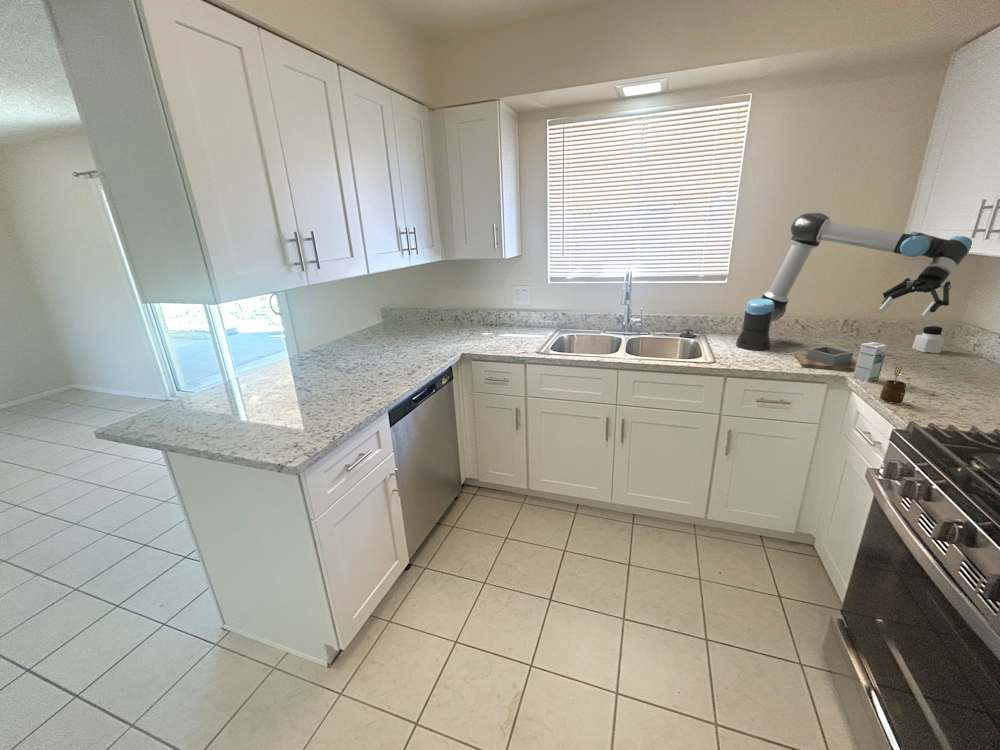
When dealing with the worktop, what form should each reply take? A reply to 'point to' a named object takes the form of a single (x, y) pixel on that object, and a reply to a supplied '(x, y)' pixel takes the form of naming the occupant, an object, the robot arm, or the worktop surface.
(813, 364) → the walnut board
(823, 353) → the holder
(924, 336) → the medicine bottle
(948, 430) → the worktop surface
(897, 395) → the brown potted plant
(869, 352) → the syrup box
